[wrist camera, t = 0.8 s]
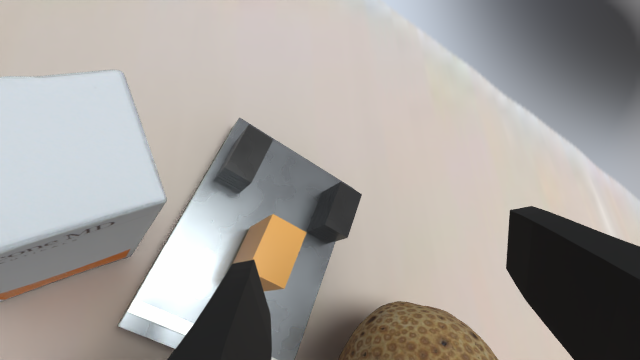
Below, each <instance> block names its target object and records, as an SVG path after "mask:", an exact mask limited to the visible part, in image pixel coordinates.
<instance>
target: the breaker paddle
mask: <svg viewBox="0 0 640 360" xmlns="http://www.w3.org/2000/svg"><path fill="white" fill-rule="evenodd" d="M306 233H307V232H305V231H303V230H301V229H300V228H298V227H296V226H294V225H292V224H291V223H289V222H287V221H285V220H283V219H282V218H280V217H278V216H276V215H274V214H272V215H270V216H268V217H267V218H265V219H263V220H261V221H260V222H258V223H256V224H255V225H253V226H251V227H250V228H249V230H248V232H247V234H246V237H245V239H244V241H243V243H242V245H241V247H240V249H239V251H238V253H237V255H236V258H235V260H234V262H233V264H234V263H239V262H244V261H249V260H255V264H256V267H257V270H258V274H259V277H260V280H261V284H262V287H263V291H272V290H279V289H285V286H286V284H287V281H288V279H289V276H290V274H291V271H292V269H293V266H294V263H295V261H296V258H297V256H298V253H299V251H300V248H301V246H302V243H303V240H304V238H305V235H306Z"/></svg>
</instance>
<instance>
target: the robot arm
mask: <svg viewBox="0 0 640 360" xmlns="http://www.w3.org/2000/svg"><path fill="white" fill-rule="evenodd" d="M506 269H507V271H508V272H509V274H510V276H511V277H512V279H513V281H514V282H515V284H516V286H517V287H518V289H519V290H520V292H521V294H522V295H523V297H524V298H525V300H526V301H527V302H528V304H529V305H530V306H531V307H532V309H533V310H534V311H535V312H536V314H537V315H538V316H539V317H540V319H541V320H542V321H543V322H544V324H545V325H546V326H547V327H548V328H549V330H550V331H551V332H552V333H553V335H554V336H555V337H556V338H557V339H558V341H559V342H560V343H561V344H562V346H563V347H564V348H565V349H566V350H567V352H568V353H569V354H570V355H571V356H572V358H573V359H574V360H640V247H639V246H636V245H634V244H631V243H628V242H625V241H623V240H620V239H617V238H615V237H612V236H610V235H607V234H604V233H602V232H599V231H597V230H594V229H592V228H589V227H586V226H584V225H581V224H579V223H576V222H574V221H571V220H569V219H566V218H564V217H561V216H558V215H556V214H553V213H550V212H548V211H545V210H542V209H539V208H536V207H533V206H530V207H524V208H519V209H514V210H510V218H509V233H508V249H507V264H506ZM271 357H272V334H271V314H270V311H269V307H268V304H267V301H266V297H265V294H264V291H263V287H262V284H261V280H260V277H259V274H258V270H257V267H256V264H255V260H249V261H244V262H239V263H234V264H232V265H231V267H230V268H229V269H228V271H227V273H226V274H225V276H224V277H223V279H222V281H221V282H220V284H219V286H218V287H217V289H216V290H215V292H214V294H213V295H212V297H211V298H210V300H209V302H208V303H207V305H206V306H205V308H204V309H203V311H202V312H201V314H200V315H199V317H198V318H197V320H196V321H195V323H194V324H193V325H192V327H191V328H190V330H189V331H188V332H187V334H186V335H185V337H184V338H183V339H182V341H181V342H180V343H179V345H178V346H177V347H176V349H175V350H174V351H173V353H172V354H171V355H170V357H169V358H168V359H167V360H271Z"/></svg>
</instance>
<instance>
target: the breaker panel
mask: <svg viewBox="0 0 640 360" xmlns="http://www.w3.org/2000/svg"><path fill="white" fill-rule="evenodd" d="M361 195H362V194H360V193H359V192H357V191H356V190H354V189H353V188H352V187H350V186H349V185H347V184H345V183H344V182H342V181H341V180H339V179H337V178H336V177H334V176H333V175H331V174H329V173H328V172H326V171H324V170H323V169H321V168H320V167H318V166H316V165H315V164H313V163H312V162H310V161H308V160H307V159H305V158H304V157H302V156H300V155H299V154H297V153H296V152H294V151H292V150H291V149H289V148H288V147H286V146H284V145H283V144H281V143H280V142H278V141H276V140H275V139H273V138H272V137H270V136H268V135H267V134H265V133H264V132H262V131H260V130H259V129H257V128H256V127H254V126H252V125H251V124H249V123H248V122H246V121H244V120H243V119H241V118H239V119H238V121H237V122H236V123H235V125H234V126H233V128H232V129H231V131H230V133H229V135H228V136H227V138H226V140H225V141H224V143H223V145H222V147H221V148H220V150H219V152H218V153H217V155H216V157H215V159H214V160H213V162H212V164H211V165H210V167H209V169H208V171H207V172H206V174H205V176H204V177H203V179H202V181H201V183H200V184H199V186H198V188H197V189H196V191H195V193H194V195H193V196H192V198H191V200H190V202H189V203H188V205H187V207H186V208H185V210H184V212H183V214H182V215H181V217H180V219H179V220H178V222H177V224H176V226H175V227H174V229H173V231H172V232H171V234H170V236H169V238H168V239H167V241H166V243H165V244H164V246H163V248H162V250H161V251H160V253H159V255H158V256H157V258H156V260H155V262H154V263H153V265H152V267H151V268H150V270H149V272H148V274H147V275H146V277H145V279H144V281H143V282H142V284H141V286H140V287H139V289H138V291H137V293H136V294H135V296H134V298H133V299H132V301H131V303H130V305H129V306H128V308H127V310H126V311H125V313H124V315H123V317H122V318H121V320H120V322H119V323H118V325H117V326H119V327H121V328H124V329H126V330H129V331H132V332H134V333H137V334H139V335H142V336H144V337H147V338H149V339H152V340H154V341H157V342H159V343H162V344H164V345H167V346H169V347H172V348H174V349H176V347H177V346H178V345H179V343H180V342H181V341H182V339H183V338H184V337H185V335H186V334H187V332H188V331H189V330H190V328H191V327H192V325H193V324H194V323H195V321H196V320H197V318H198V317H199V315H200V314H201V312H202V311H203V309H204V308H205V306H206V305H207V303H208V302H209V300H210V298H211V297H212V295H213V294H214V292H215V290H216V289H217V287H218V286H219V284H220V282H221V281H222V279H223V277H224V276H225V274H226V273H227V271H228V269H229V268H230V267H231V265H232V264H233V262H234V260H235V258H236V255H237V253H238V251H239V249H240V247H241V245H242V243H243V241H244V239H245V237H246V234H247V232H248V230H249V228H250V227H251V226H253V225H255V224H256V223H258V222H260V221H261V220H263V219H265V218H267V217H268V216H270V215H272V214H274V215H276V216H278V217H280V218H282V219H283V220H285V221H287V222H289V223H291V224H292V225H294V226H296V227H298V228H300V229H301V230H303V231H305V232H307V233H306V235H305V238H304V240H303V243H302V246H301V248H300V251H299V253H298V256H297V258H296V261H295V263H294V266H293V269H292V271H291V274H290V276H289V279H288V281H287V284H286V286H285V289H279V290H272V291H264V294H265V297H266V301H267V304H268V307H269V311H270V314H271V334H272V357H271V360H295V357H296V354H297V351H298V348H299V346H300V343H301V340H302V337H303V334H304V331H305V328H306V325H307V322H308V320H309V317H310V314H311V311H312V308H313V305H314V302H315V299H316V296H317V294H318V291H319V288H320V285H321V282H322V279H323V276H324V273H325V270H326V268H327V265H328V262H329V259H330V256H331V253H332V250H333V247H334V244H335V242H336V241H338V240H341V239H345V238H348V235H349V232H350V229H351V226H352V223H353V220H354V217H355V213H356V210H357V207H358V204H359V201H360V198H361Z"/></svg>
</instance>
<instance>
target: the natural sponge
mask: <svg viewBox="0 0 640 360" xmlns="http://www.w3.org/2000/svg"><path fill="white" fill-rule="evenodd" d="M338 360H498V359H497V357H496V356H495V355H494V353H493V352H492V350H491V349H490V348H489V346H488V345H487V344H486V343H485V342H484V341H483V340H482V339H481V337H480V336H478V335H477V334H476V333H475V332H474V331H473V330H472V329H471V328H470V327H469V326H467V325H466V324H465V323H463V322H462V321H460V320H458V319H457V318H456V317H454V316H453V315H451V314H450V313H448V312H446V311H443V310H440V309H437V308H433V307H429V306H421V305H417V304H413V303H409V302H401V301H397V302H393V303H389V304H386V305H383V306H381V307H380V308H378V309H377V310H375V311H374V312H373V313H372V314H370V315H369V316H368V317H367V318H366V319H365V320H364V321H363V322H362V323H361V324H360V325H359V326H358V327H357V328H356V330H355V331H354V332H353V334H352V336H351V337H350V339H349V341H348V342H347V344H346V345H345V347H344V349H343V351H342V353H341V355H340V357H339V359H338Z"/></svg>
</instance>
